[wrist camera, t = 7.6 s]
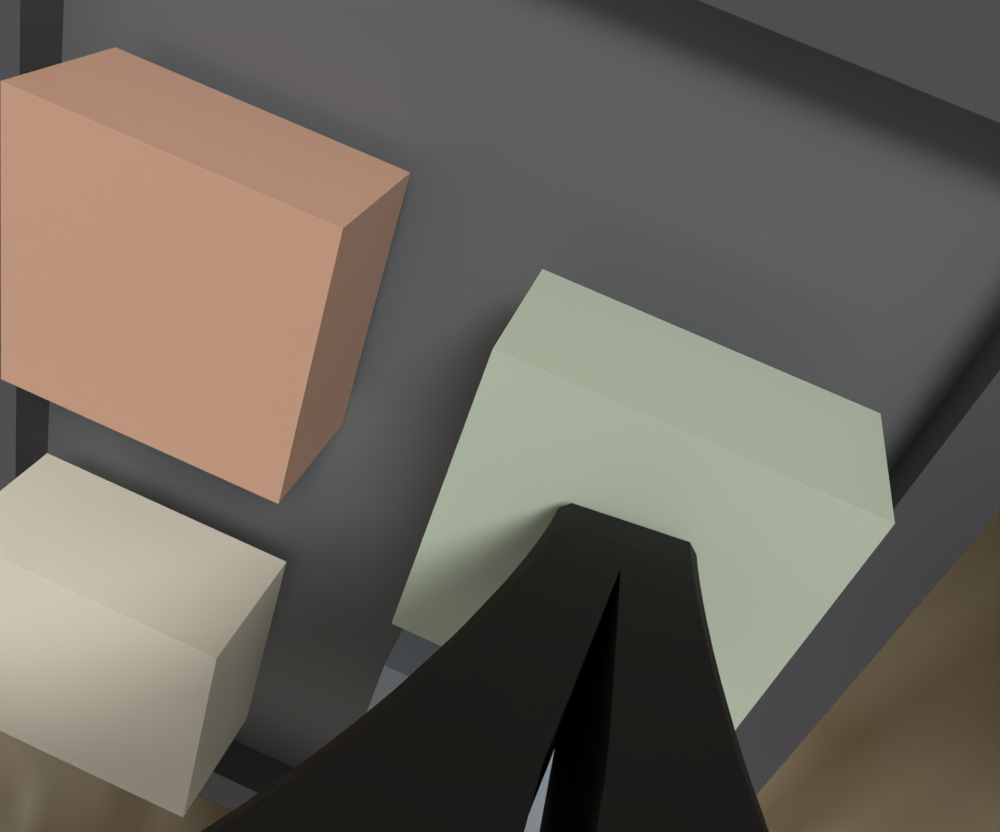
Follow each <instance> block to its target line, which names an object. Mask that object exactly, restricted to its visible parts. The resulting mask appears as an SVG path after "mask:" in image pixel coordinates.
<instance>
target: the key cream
mask: <svg viewBox="0 0 1000 832" xmlns="http://www.w3.org/2000/svg"><path fill="white" fill-rule="evenodd" d="M285 566H286V561H284V560H281V559H279V558H277V557H275V556H273V555H270V554H268V553H266V552H264V551H262V550H259V549H257V548H255V547H253V546H251V545H248V544H246V543H244V542H242V541H240V540H237V539H235V538H233V537H231V536H229V535H226V534H224V533H222V532H220V531H218V530H215V529H213V528H211V527H209V526H207V525H204V524H202V523H200V522H198V521H196V520H193V519H191V518H189V517H187V516H185V515H182V514H180V513H178V512H176V511H174V510H171V509H169V508H167V507H165V506H163V505H160V504H158V503H156V502H154V501H151V500H149V499H147V498H145V497H143V496H140V495H138V494H136V493H134V492H132V491H129V490H127V489H125V488H123V487H121V486H118V485H116V484H114V483H112V482H110V481H107V480H105V479H103V478H101V477H99V476H96V475H94V474H92V473H90V472H88V471H85V470H83V469H81V468H79V467H77V466H74V465H72V464H70V463H68V462H66V461H63V460H61V459H59V458H57V457H55V456H52V455H50V454H48V453H47V454H46V455H44V456H43V457H42V458H41V459H39V460H38V461H37V462H36V463H34V464H33V465H32V466H31V467H29V468H28V469H27V470H26V471H24V472H23V473H22V474H21V475H19V476H18V477H17V478H16V479H14V480H13V481H12V482H11V483H9V484H8V485H7V486H6V487H4V488H3V489H2V490H1V491H0V731H1V732H3V733H5V734H8V735H10V736H12V737H14V738H16V739H18V740H20V741H22V742H24V743H27V744H29V745H31V746H33V747H35V748H37V749H39V750H41V751H43V752H46V753H48V754H50V755H52V756H54V757H56V758H58V759H60V760H62V761H65V762H67V763H69V764H71V765H73V766H75V767H77V768H79V769H81V770H84V771H86V772H88V773H90V774H92V775H94V776H96V777H98V778H100V779H103V780H105V781H107V782H109V783H111V784H113V785H115V786H117V787H119V788H122V789H124V790H126V791H128V792H130V793H132V794H134V795H136V796H138V797H141V798H143V799H145V800H147V801H149V802H151V803H153V804H155V805H157V806H160V807H162V808H164V809H166V810H168V811H170V812H172V813H174V814H176V815H179V816H181V817H184V816H185V814H186V813H187V811H188V810H189V808H190V806H191V805H192V803H193V802H194V800H195V799H196V797H197V795H198V794H199V792H200V791H201V789H202V788H203V786H204V785H205V783H206V781H207V780H208V778H209V777H210V775H211V774H212V772H213V770H214V769H215V767H216V766H217V764H218V763H219V761H220V760H221V758H222V756H223V755H224V753H225V752H226V750H227V749H228V747H229V746H230V744H231V742H232V741H233V739H234V738H235V736H236V735H237V733H238V731H239V730H240V728H241V727H242V725H243V724H244V722H245V721H246V719H247V715H248V712H249V708H250V704H251V700H252V696H253V692H254V688H255V684H256V680H257V676H258V672H259V668H260V664H261V660H262V656H263V652H264V649H265V645H266V641H267V637H268V633H269V629H270V625H271V621H272V617H273V613H274V609H275V605H276V601H277V597H278V593H279V589H280V586H281V582H282V578H283V574H284V570H285Z"/></svg>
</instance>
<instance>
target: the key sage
mask: <svg viewBox="0 0 1000 832" xmlns="http://www.w3.org/2000/svg"><path fill="white" fill-rule="evenodd" d="M570 503H574V504H577V505H580V506H583V507H586V508H589V509H592V510H595V511H598V512H601V513H604V514H607V515H610V516H613V517H616V518H619V519H622V520H625V521H628V522H631V523H634V524H637V525H640V526H643V527H646V528H649V529H652V530H655V531H658V532H661V533H664V534H667V535H670V536H673V537H676V538H679V539H682V540H685V541H688V542H690V543H691V545H692V547H693V549H694V551H695V552H696V554H697V564H698V572H699V579H700V586H701V592H702V598H703V603H704V609H705V614H706V619H707V624H708V628H709V633H710V637H711V642H712V646H713V651H714V655H715V659H716V663H717V667H718V671H719V675H720V679H721V683H722V686H723V690H724V693H725V697H726V700H727V704H728V707H729V711H730V714H731V718H732V722H733V725H734V729H735V730H736V729H737V727H738V726H739V725H740V723H741V722H742V721H743V719H744V718H745V717H746V716H747V714H748V713H749V712H750V710H751V709H752V708H753V707H754V705H755V704H756V703H757V701H758V700H759V699H760V697H761V696H762V695H763V694H764V692H765V691H766V690H767V688H768V687H769V686H770V685H771V683H772V682H773V681H774V679H775V678H776V677H777V675H778V674H779V673H780V672H781V670H782V669H783V668H784V666H785V665H786V664H787V663H788V661H789V660H790V659H791V657H792V656H793V655H794V653H795V652H796V651H797V650H798V648H799V647H800V646H801V644H802V643H803V642H804V641H805V639H806V638H807V637H808V635H809V634H810V633H811V632H812V630H813V629H814V628H815V626H816V625H817V624H818V622H819V621H820V620H821V619H822V617H823V616H824V615H825V613H826V612H827V611H828V610H829V608H830V607H831V606H832V604H833V603H834V602H835V600H836V599H837V598H838V597H839V595H840V594H841V593H842V591H843V590H844V589H845V588H846V586H847V585H848V584H849V582H850V581H851V580H852V578H853V577H854V576H855V575H856V573H857V572H858V571H859V569H860V568H861V567H862V566H863V564H864V563H865V562H866V560H867V559H868V558H869V556H870V555H871V554H872V553H873V551H874V550H875V549H876V547H877V546H878V545H879V544H880V542H881V541H882V540H883V538H884V537H885V536H886V534H887V533H888V532H889V531H890V529H891V528H892V527H893V525H894V524H895V520H894V512H893V505H892V497H891V489H890V482H889V474H888V466H887V459H886V451H885V443H884V436H883V428H882V420H881V413H878V412H876V411H874V410H871V409H869V408H867V407H864V406H862V405H860V404H857V403H855V402H853V401H850V400H848V399H846V398H843V397H841V396H839V395H836V394H834V393H832V392H829V391H827V390H825V389H822V388H820V387H818V386H815V385H813V384H810V383H808V382H806V381H803V380H801V379H799V378H796V377H794V376H792V375H789V374H787V373H785V372H782V371H780V370H778V369H775V368H773V367H771V366H768V365H766V364H764V363H761V362H759V361H757V360H754V359H752V358H750V357H747V356H745V355H743V354H740V353H738V352H736V351H733V350H731V349H729V348H726V347H724V346H722V345H719V344H717V343H715V342H712V341H710V340H708V339H705V338H703V337H701V336H698V335H696V334H694V333H691V332H689V331H687V330H684V329H682V328H680V327H677V326H675V325H673V324H670V323H668V322H666V321H663V320H661V319H659V318H656V317H654V316H651V315H649V314H647V313H644V312H642V311H640V310H637V309H635V308H633V307H630V306H628V305H626V304H623V303H621V302H619V301H616V300H614V299H612V298H609V297H607V296H605V295H602V294H600V293H598V292H595V291H593V290H591V289H588V288H586V287H584V286H581V285H579V284H577V283H574V282H572V281H570V280H567V279H565V278H563V277H560V276H558V275H556V274H553V273H551V272H549V271H546V270H544V269H542V270H541V272H540V274H539V275H538V277H537V278H536V280H535V282H534V283H533V285H532V286H531V288H530V290H529V291H528V293H527V294H526V296H525V298H524V299H523V301H522V303H521V304H520V306H519V307H518V309H517V311H516V312H515V314H514V315H513V317H512V319H511V320H510V322H509V323H508V325H507V327H506V328H505V330H504V331H503V333H502V335H501V336H500V338H499V339H498V341H497V343H496V344H495V346H494V348H493V349H492V352H491V355H490V357H489V360H488V363H487V366H486V368H485V371H484V374H483V376H482V379H481V382H480V385H479V387H478V390H477V393H476V395H475V398H474V401H473V404H472V406H471V409H470V412H469V414H468V417H467V420H466V423H465V425H464V428H463V431H462V433H461V436H460V439H459V442H458V444H457V447H456V450H455V452H454V455H453V458H452V461H451V463H450V466H449V469H448V471H447V474H446V477H445V480H444V482H443V485H442V488H441V490H440V493H439V496H438V499H437V501H436V504H435V507H434V509H433V512H432V515H431V518H430V520H429V523H428V526H427V528H426V531H425V534H424V537H423V539H422V542H421V545H420V547H419V550H418V553H417V556H416V558H415V561H414V564H413V566H412V569H411V572H410V575H409V577H408V580H407V583H406V585H405V588H404V591H403V594H402V596H401V599H400V602H399V604H398V607H397V610H396V613H395V615H394V618H393V621H392V624H394V625H396V626H398V627H400V628H403V629H405V630H407V631H409V632H411V633H414V634H416V635H418V636H420V637H422V638H425V639H427V640H429V641H431V642H433V643H436V644H438V645H440V646H442V645H444V644H445V643H446V642H447V641H448V640H449V639H450V638H451V637H452V636H453V635H454V634H455V633H456V632H457V631H458V630H459V629H460V628H461V627H462V626H463V625H464V624H465V623H466V622H467V621H468V620H469V619H470V618H471V617H472V616H473V615H474V614H475V613H476V612H477V611H478V610H479V609H480V608H481V606H482V605H483V604H484V603H485V602H486V601H487V600H488V599H489V598H490V597H491V596H492V595H493V594H494V593H495V592H496V591H497V589H498V588H499V587H500V586H501V585H502V584H503V583H504V582H505V581H506V580H507V579H508V577H509V576H510V575H511V574H512V573H513V571H514V570H515V569H516V568H517V567H518V565H519V564H520V563H521V562H522V561H523V559H524V558H525V557H526V556H527V555H528V553H529V552H530V551H531V549H532V548H533V547H534V545H535V544H536V543H537V541H538V540H539V539H540V537H541V536H542V534H543V533H544V531H545V530H546V528H547V527H548V525H549V524H550V522H551V521H552V519H553V517H554V515H555V513H556V511H557V509H558V508H559V507H562V506H565V505H567V504H570Z"/></svg>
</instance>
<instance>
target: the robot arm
mask: <svg viewBox="0 0 1000 832" xmlns="http://www.w3.org/2000/svg"><path fill="white" fill-rule="evenodd" d="M554 749H555V750H554ZM553 752H554V755H553V760H552V766H551V771H550V776H549V782H548V787H547V793H546V798H545V803H544V809H543V814H542V820H541V825H540V831H539V832H769V831H768V828H767V826H766V823H765V820H764V817H763V814H762V811H761V808H760V806H759V803H758V800H757V797H756V794H755V791H754V788H753V785H752V783H751V780H750V777H749V774H748V771H747V768H746V764H745V761H744V758H743V755H742V752H741V749H740V745H739V742H738V739H737V736H736V732H735V729H734V725H733V722H732V718H731V714H730V711H729V707H728V704H727V700H726V697H725V693H724V690H723V686H722V683H721V679H720V675H719V671H718V667H717V663H716V659H715V655H714V651H713V646H712V642H711V637H710V633H709V628H708V624H707V619H706V614H705V609H704V603H703V598H702V592H701V586H700V579H699V572H698V564H697V554H696V552H695V551H694V549H693V547H692V545H691V543H690V542H688V541H685V540H682V539H679V538H676V537H673V536H670V535H667V534H664V533H661V532H658V531H655V530H652V529H649V528H646V527H643V526H640V525H637V524H634V523H631V522H628V521H625V520H622V519H619V518H616V517H613V516H610V515H607V514H604V513H601V512H598V511H595V510H592V509H589V508H586V507H583V506H580V505H577V504H574V503H570V504H567V505H565V506H562V507H559V508H558V509H557V511H556V513H555V515H554V517H553V519H552V521H551V522H550V524H549V525H548V527H547V528H546V530H545V531H544V533H543V534H542V536H541V537H540V539H539V540H538V541H537V543H536V544H535V545H534V547H533V548H532V549H531V551H530V552H529V553H528V555H527V556H526V557H525V558H524V559H523V561H522V562H521V563H520V564H519V565H518V567H517V568H516V569H515V570H514V571H513V573H512V574H511V575H510V576H509V577H508V579H507V580H506V581H505V582H504V583H503V584H502V585H501V586H500V587H499V588H498V589H497V591H496V592H495V593H494V594H493V595H492V596H491V597H490V598H489V599H488V600H487V601H486V602H485V603H484V604H483V605H482V606H481V608H480V609H479V610H478V611H477V612H476V613H475V614H474V615H473V616H472V617H471V618H470V619H469V620H468V621H467V622H466V623H465V624H464V625H463V626H462V627H461V628H460V629H459V630H458V631H457V632H456V633H455V634H454V635H453V636H452V637H451V638H450V639H449V640H448V641H447V642H446V643H445V644H444V645H442V646H441V647H440V648H439V649H438V650H437V651H436V652H435V653H434V654H433V655H432V656H431V657H429V658H428V659H427V660H426V661H425V662H424V663H423V664H422V665H421V666H420V667H419V668H417V669H416V670H415V671H414V672H413V673H412V674H411V675H410V676H409V677H408V678H407V679H406V680H404V681H403V682H402V683H401V684H400V685H399V686H398V687H397V688H395V689H394V690H393V691H392V692H391V693H389V694H388V695H387V696H386V697H385V698H384V699H382V700H381V701H380V702H379V703H378V704H376V705H375V706H374V707H373V708H372V709H370V710H369V711H368V712H367V713H365V714H364V715H363V716H362V717H361V718H359V719H358V720H357V721H356V722H354V723H353V724H352V725H351V726H349V727H348V728H347V729H345V730H344V731H343V732H341V733H340V734H339V735H338V736H336V737H335V738H334V739H332V740H331V741H330V742H329V743H327V744H326V745H325V746H323V747H322V748H321V749H319V750H318V751H317V752H315V753H314V754H313V755H311V756H310V757H309V758H307V759H306V760H305V761H303V762H302V763H300V764H299V765H298V766H296V767H295V768H293V769H292V770H290V771H289V772H288V773H286V774H285V775H283V776H282V777H281V778H279V779H278V780H276V781H275V782H273V783H272V784H271V785H269V786H268V787H266V788H265V789H264V790H262V791H261V792H259V793H258V794H256V795H255V796H254V797H252V798H251V799H249V800H248V801H246V802H245V803H244V804H242V805H241V806H239V807H238V808H236V809H235V810H233V811H232V812H230V813H229V814H227V815H226V816H224V817H223V818H221V819H220V820H218V821H217V822H215V823H213V824H212V825H210V826H209V827H207V828H206V829H204V830H203V831H201V832H524V830H525V827H526V823H527V819H528V816H529V813H530V810H531V808H532V805H533V803H534V800H535V798H536V795H537V793H538V790H539V787H540V785H541V782H542V780H543V777H544V775H545V772H546V770H547V767H548V765H549V762H550V759H551V757H552V754H553Z"/></svg>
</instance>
